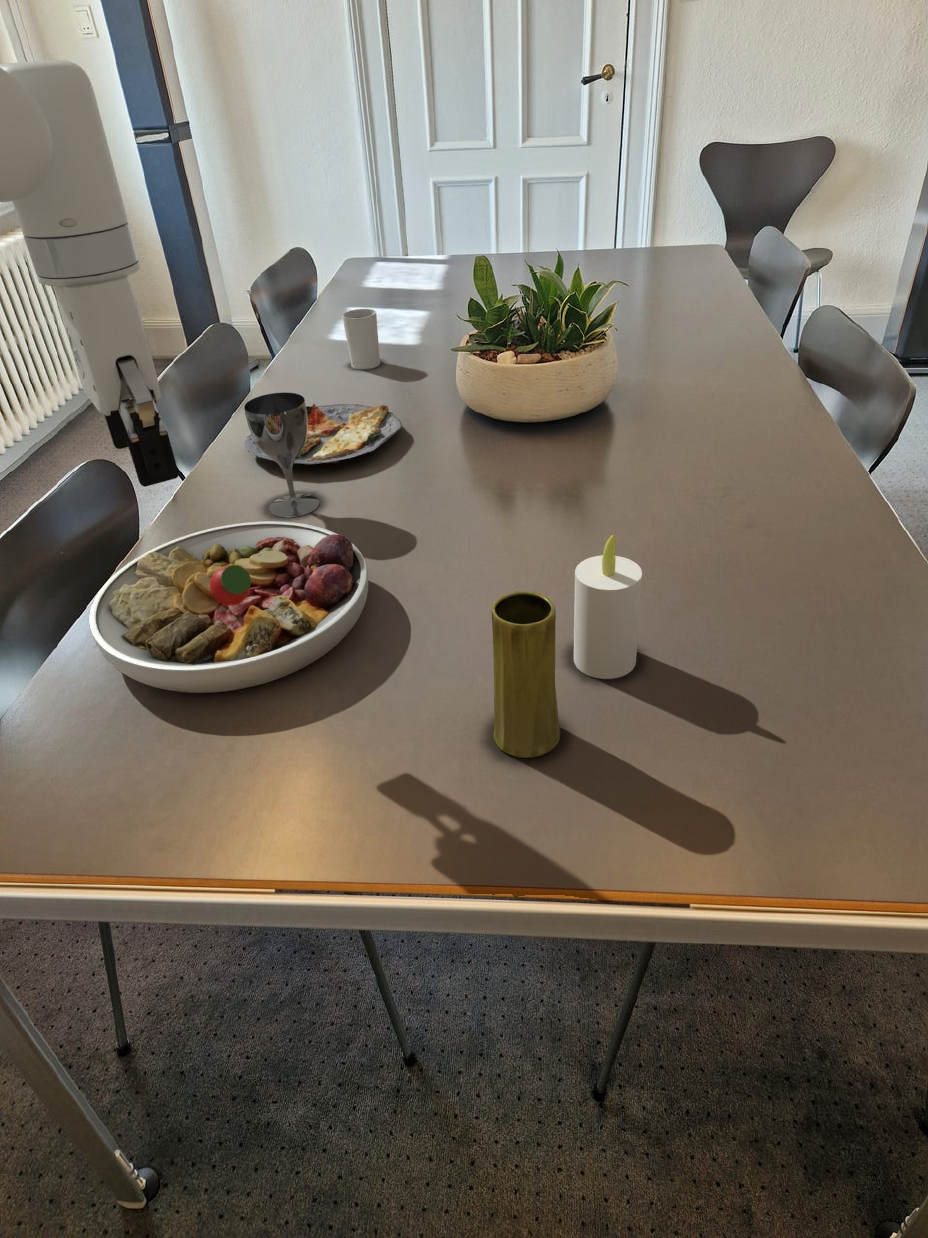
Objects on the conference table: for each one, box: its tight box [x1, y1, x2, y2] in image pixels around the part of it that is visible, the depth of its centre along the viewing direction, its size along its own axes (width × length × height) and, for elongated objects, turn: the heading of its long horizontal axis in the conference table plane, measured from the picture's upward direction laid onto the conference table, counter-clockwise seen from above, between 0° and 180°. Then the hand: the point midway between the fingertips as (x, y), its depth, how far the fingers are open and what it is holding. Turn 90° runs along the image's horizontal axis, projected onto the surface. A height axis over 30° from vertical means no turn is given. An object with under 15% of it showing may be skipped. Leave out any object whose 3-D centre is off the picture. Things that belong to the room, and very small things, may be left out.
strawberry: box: [210, 565, 251, 606], centre depth 87 cm, size 4×4×4 cm
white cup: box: [341, 308, 381, 370], centre depth 167 cm, size 7×7×10 cm
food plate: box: [243, 403, 403, 465], centre depth 137 cm, size 25×23×4 cm
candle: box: [573, 534, 643, 680], centre depth 83 cm, size 6×6×15 cm
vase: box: [491, 590, 561, 759], centre depth 74 cm, size 6×6×14 cm
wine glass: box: [243, 392, 321, 518], centre depth 116 cm, size 8×8×15 cm
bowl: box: [88, 520, 369, 694], centre depth 94 cm, size 30×30×8 cm
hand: (145, 462), depth 74 cm, fingers open, 9 cm apart
